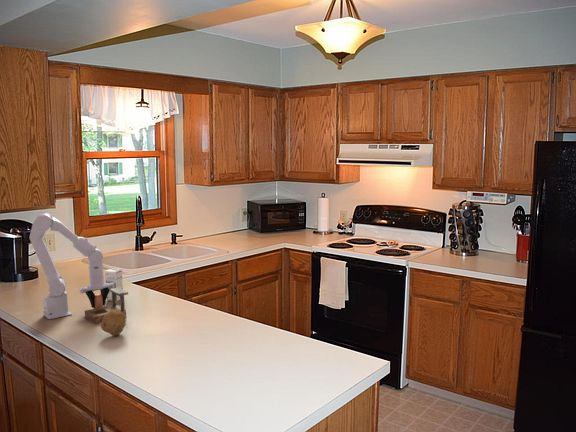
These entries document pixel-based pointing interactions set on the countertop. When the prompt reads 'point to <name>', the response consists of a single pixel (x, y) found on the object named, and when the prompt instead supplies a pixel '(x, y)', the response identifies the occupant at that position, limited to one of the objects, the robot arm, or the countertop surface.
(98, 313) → the socket station
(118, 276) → the syrup box
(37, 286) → the countertop surface
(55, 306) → the robot arm
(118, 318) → the natural sponge
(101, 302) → the peg
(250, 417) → the countertop surface
